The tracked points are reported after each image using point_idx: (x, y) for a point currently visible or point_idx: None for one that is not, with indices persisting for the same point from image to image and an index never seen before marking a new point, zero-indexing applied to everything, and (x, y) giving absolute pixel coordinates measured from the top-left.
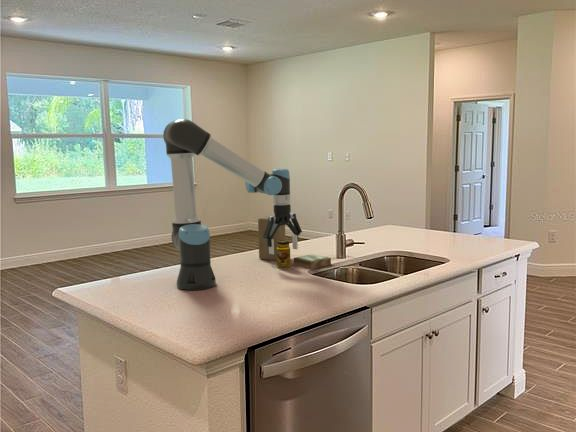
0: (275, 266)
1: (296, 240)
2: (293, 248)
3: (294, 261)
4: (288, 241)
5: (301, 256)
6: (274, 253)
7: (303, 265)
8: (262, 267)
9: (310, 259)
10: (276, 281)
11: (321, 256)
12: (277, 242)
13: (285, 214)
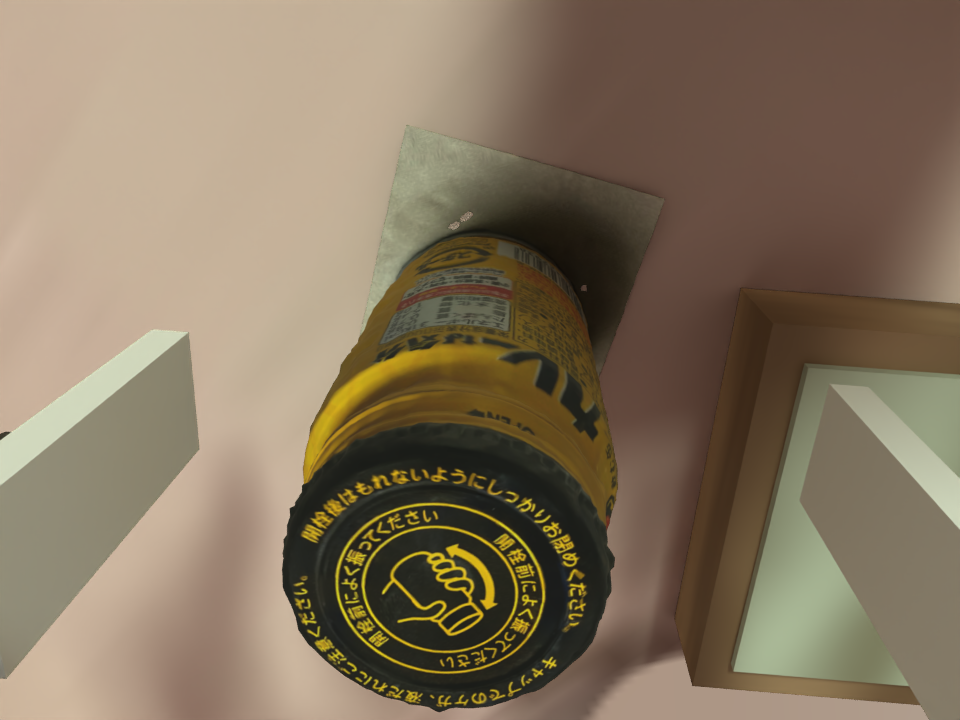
0: (432, 193)
1: (894, 643)
2: (824, 417)
3: (750, 325)
4: (540, 685)
5: (911, 388)
6: None
7: (704, 501)
8: (249, 63)
9: (793, 620)
10: (17, 689)
11: None
12: (300, 502)
13: None
